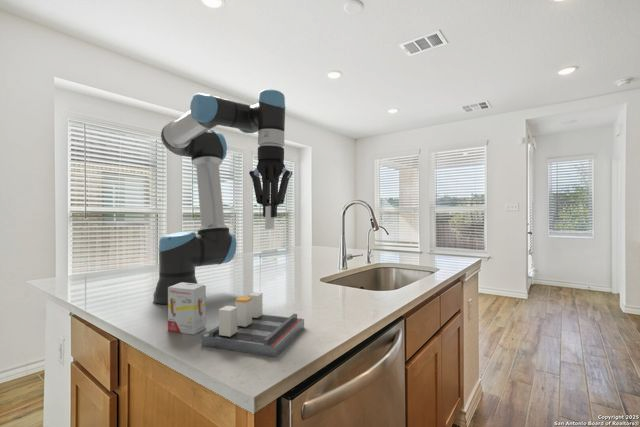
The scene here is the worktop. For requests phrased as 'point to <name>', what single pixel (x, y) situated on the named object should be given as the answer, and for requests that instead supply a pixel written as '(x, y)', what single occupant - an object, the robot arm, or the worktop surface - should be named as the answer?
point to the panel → (258, 335)
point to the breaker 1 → (227, 321)
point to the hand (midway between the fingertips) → (269, 228)
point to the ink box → (187, 308)
